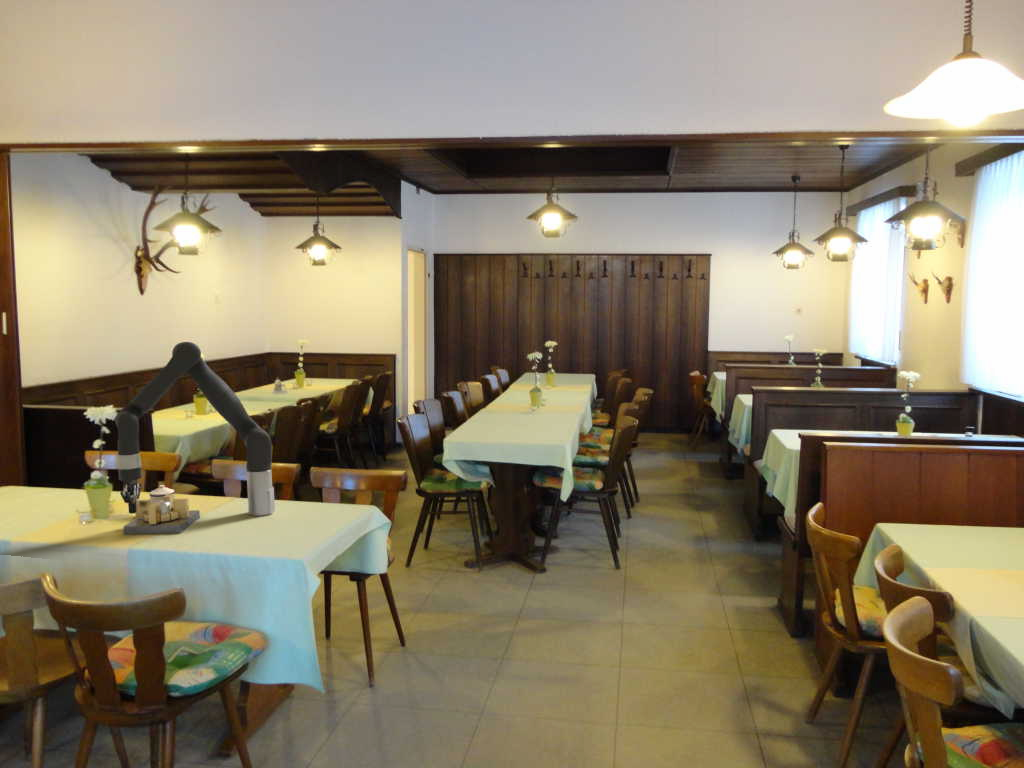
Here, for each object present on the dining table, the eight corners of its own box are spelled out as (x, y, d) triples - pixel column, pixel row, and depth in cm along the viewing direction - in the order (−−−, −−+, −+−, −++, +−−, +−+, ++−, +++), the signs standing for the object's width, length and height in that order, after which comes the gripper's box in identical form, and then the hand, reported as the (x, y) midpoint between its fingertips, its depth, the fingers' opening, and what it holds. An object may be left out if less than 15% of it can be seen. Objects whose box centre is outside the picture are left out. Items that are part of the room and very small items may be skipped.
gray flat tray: (199, 517, 307) (198, 495, 306) (180, 533, 287) (179, 508, 286) (146, 519, 306) (145, 496, 305) (124, 534, 286) (122, 510, 285)
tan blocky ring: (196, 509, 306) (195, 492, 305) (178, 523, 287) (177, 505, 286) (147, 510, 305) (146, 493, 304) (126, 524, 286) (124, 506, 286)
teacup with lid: (167, 517, 308) (166, 488, 306) (145, 517, 309) (144, 487, 307) (184, 509, 319) (182, 481, 318) (163, 509, 321) (161, 480, 319)
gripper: (132, 469, 281) (135, 517, 283) (147, 462, 294) (150, 507, 296) (110, 470, 281) (114, 518, 283) (127, 462, 294) (130, 508, 296)
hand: (132, 512), depth 290 cm, fingers closed
